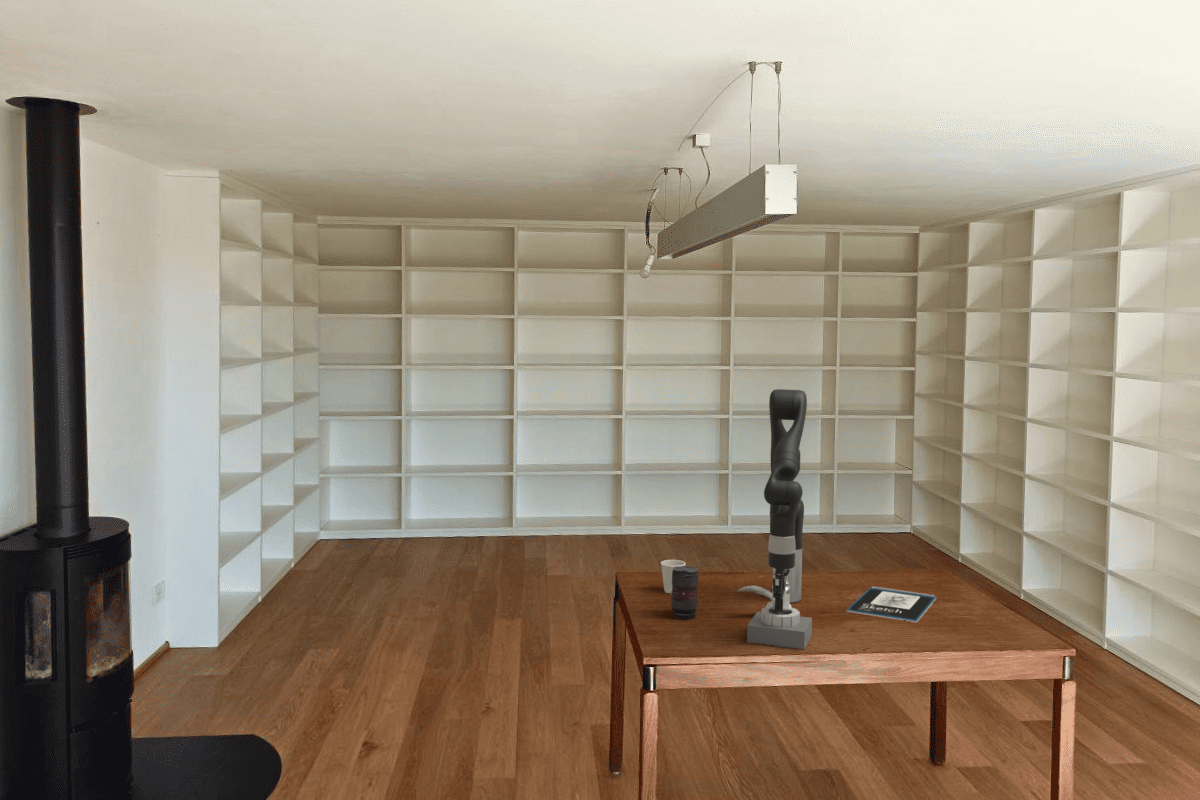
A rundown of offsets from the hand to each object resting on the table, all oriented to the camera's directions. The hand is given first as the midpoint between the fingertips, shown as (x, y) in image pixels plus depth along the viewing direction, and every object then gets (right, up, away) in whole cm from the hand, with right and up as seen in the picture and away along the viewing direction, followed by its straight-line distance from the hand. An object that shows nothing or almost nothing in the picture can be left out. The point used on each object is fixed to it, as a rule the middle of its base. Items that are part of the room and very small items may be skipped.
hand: (780, 608), depth 278 cm
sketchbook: (+43, -7, +35) cm, 56 cm away
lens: (0, -2, 0) cm, 2 cm away
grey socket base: (0, -9, +1) cm, 9 cm away
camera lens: (-26, -7, +21) cm, 34 cm away
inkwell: (-1, -7, +20) cm, 22 cm away
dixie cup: (-27, -5, +48) cm, 55 cm away
